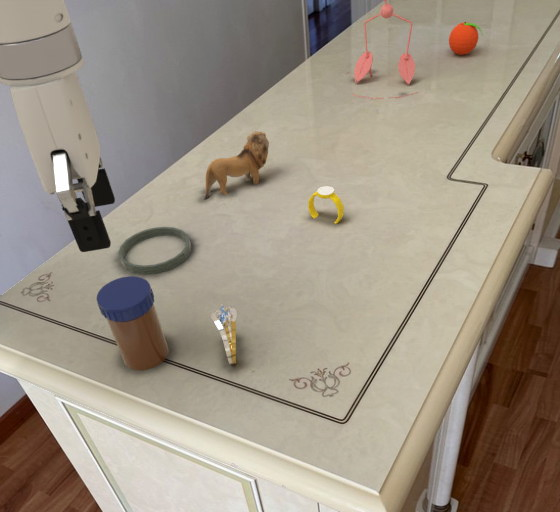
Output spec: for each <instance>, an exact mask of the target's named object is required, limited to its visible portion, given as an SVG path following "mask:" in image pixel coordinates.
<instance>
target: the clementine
mask: <svg viewBox="0 0 560 512" xmlns="http://www.w3.org/2000/svg"><path fill="white" fill-rule="evenodd" d="M478 30H479V32H480V33H481V36H483V31H482V30H481V28H480V26H478V25H477V24H475V23H472V22H468V21H467V22H466V21H464V22H460V23H458V24H457V25H455V26H454V27H453V28H452V30H451V31H450V34H449V36H448V45H449V48H450V50H451V52H453V53H454V54H456V55H459V56H464V55H467V54H470V53H471V52H473V50H474V49H475V48H476V46H477V45H478V42H479V32H478Z"/></svg>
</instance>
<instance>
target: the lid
mask: <svg viewBox="0 0 560 512" xmlns="http://www.w3.org/2000/svg"><path fill="white" fill-rule="evenodd" d="M96 302H97V305H98V309H99V311H100V314H101V315H102V316H103V317H104V318H105V319H106V318H107V319H108V320H111V321H116V322H124V321H130V320H133V319H136V318H138V317H140V316H142V315H144V314H145V313H147V312H148V311H149V310H150V309H151V307H152V306H153V303H154V304H155V295H154V291H153V289H152V287H151V284H150V282H149V281H148V280H146V278H143V277H140V276H136V275H135V276H132V275H131V276H130V275H128V276H122V277H119V278H116V279H113V280H111V281H109V282H108V283H106V284H105V285H103V286H102V287H101V288H100V289H99V291H98V292H97V295H96ZM107 319H106V320H107Z"/></svg>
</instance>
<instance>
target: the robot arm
mask: <svg viewBox="0 0 560 512" xmlns="http://www.w3.org/2000/svg"><path fill="white" fill-rule="evenodd" d="M84 63H85V61H84V59H83V55H82V51H81V48H80V46H79V42H78V40H77V36H76V33H75V30H74V26H73V23H72V20H71V17H70V14H69V11H68V8H67V5H66V2H65V0H0V83H1V84H2V85H4V86H7V87H9V90H10V95H11V99H12V102H13V107H14V109H15V114H16V116H17V119H18V122H19V126H20V128H21V132H22V134H23V137H24V139H25V143H26V145H27V148H28V151H29V153H30V156H31V159H32V162H33V164H34V166H35V169H36V173H37V175H38V177H39V180H40V183H41V185H42V188H43V190H44V192H45V193H46V194H48V195H49V196H52V195H54V194H55V195H56V196H57V200H58V201H59V202H60V204H61V205H60V206H61V209H62V211H63V213H64V216H65V219H66V221H67V223H68V226H69V228H70V230H71V232H72V235H73V237H74V240H75V243H76V246H77V248H78V249H79V251H80V252H81V253H88V252H92V251H98V250H99V251H100V250H104V249H109V248H110V247H111V243H112V242H111V239H110V236H109V233H108V231H107V228H106V224H105V222H104V219H103V217H102V213H101V211H100V209H99V210H97V209H96V208H97V207H102V206H108V205H113V204H115V202H116V198H115V195H114V192H113V189H112V186H111V182H110V179H109V176H108V173H107V171H106V168H104V164H103V160H102V157H101V145H100V139H99V136H98V132H97V130H96V129H97V128H96V127H95V123H94V120H93V116H92V114H91V110H90V107H89V105H88V102H87V99H86V95H85V92H84V90H83V88H82V85H81V83H80V80H79V75H78V74H77V72H78V71H79V70H80V69H81V68H83V66H84ZM74 180H77V182H75V183H73V181H74ZM80 192H81V193H82V197H83V199H84V200H83V199H82V197H77V194H76V193H80Z"/></svg>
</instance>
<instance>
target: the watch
mask: <svg viewBox="0 0 560 512" xmlns="http://www.w3.org/2000/svg"><path fill="white" fill-rule="evenodd" d="M315 197H318V198H320V199H325V200H326V199H330V200H331V201H332V202H333V203H334V205H335V207H336V209H337V218H336V220H335V221H334V222H333V223H334V224H336V225H337V224H338V223H339V222H341V220H342V218H343V216H344V213H345V210H344V209H345V207H344V204H343V201H342V200H341V198H340V197H339V196H338V194H336V192H335V188H334V187H333V186H328V185H323V186H320V187H319V188H317V190H316V191H315V192H314V193H312V194H311V196H310V197H309V199H308V202H307V208H308V211H309V214H310V216H311V217H312V218H313V219H316V218H318V216H319V215H320V214H319V213H318V212H317V210H316V207H315Z"/></svg>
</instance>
